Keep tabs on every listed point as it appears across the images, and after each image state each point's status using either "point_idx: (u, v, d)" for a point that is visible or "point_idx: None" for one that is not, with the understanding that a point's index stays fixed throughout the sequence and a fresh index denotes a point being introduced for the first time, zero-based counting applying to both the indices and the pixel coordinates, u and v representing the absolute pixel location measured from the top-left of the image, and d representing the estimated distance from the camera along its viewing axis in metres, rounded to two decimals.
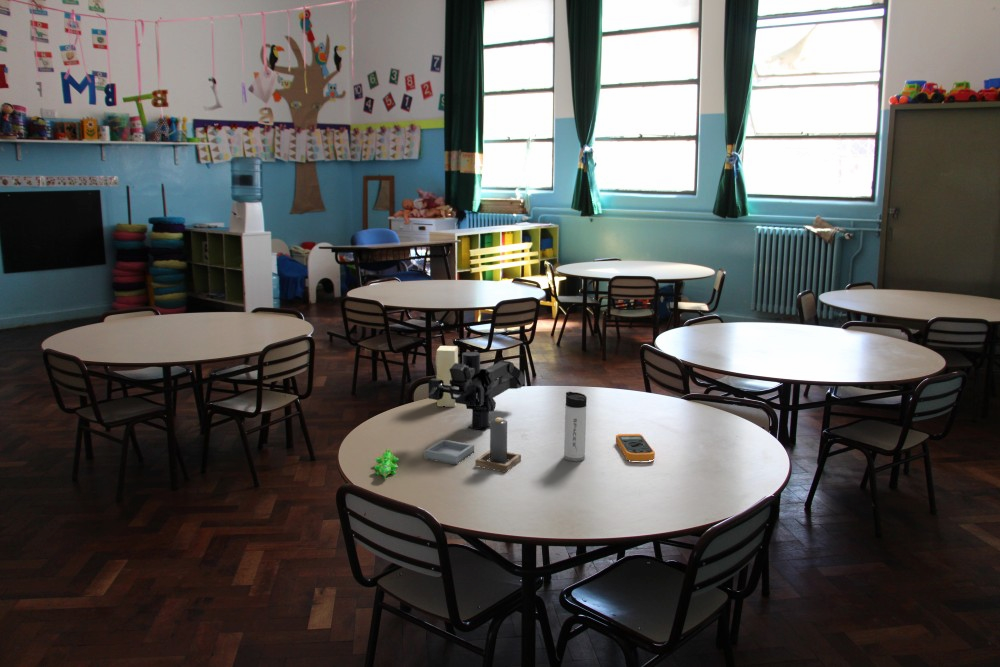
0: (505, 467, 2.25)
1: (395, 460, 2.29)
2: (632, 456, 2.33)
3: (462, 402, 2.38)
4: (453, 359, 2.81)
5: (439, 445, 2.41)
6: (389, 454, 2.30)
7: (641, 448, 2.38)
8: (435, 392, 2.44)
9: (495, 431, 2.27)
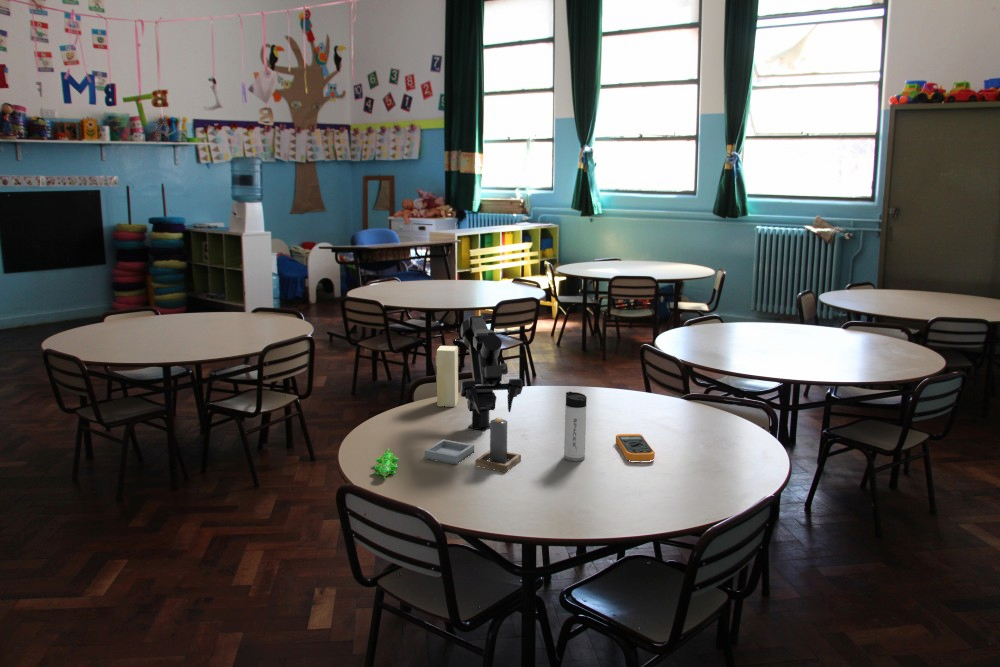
0: (505, 467, 2.25)
1: (395, 460, 2.29)
2: (632, 456, 2.33)
3: None
4: (453, 359, 2.81)
5: (439, 445, 2.41)
6: (389, 454, 2.30)
7: (641, 448, 2.38)
8: None
9: (495, 431, 2.27)
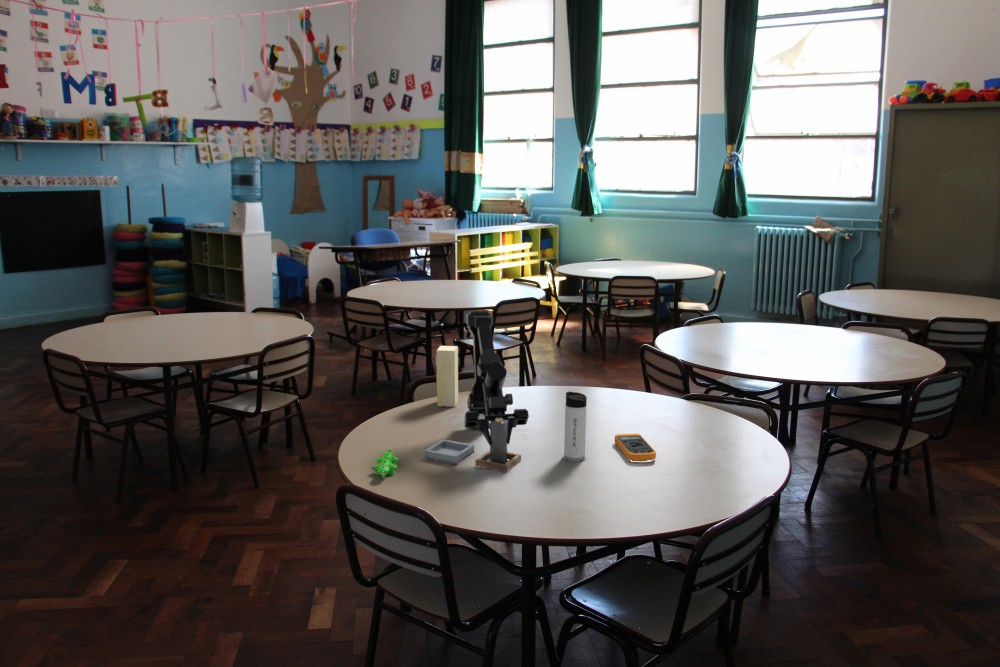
0: (505, 467, 2.25)
1: (395, 460, 2.28)
2: (634, 456, 2.33)
3: None
4: (453, 359, 2.81)
5: (439, 445, 2.41)
6: (390, 454, 2.30)
7: (642, 448, 2.38)
8: None
9: (495, 431, 2.27)
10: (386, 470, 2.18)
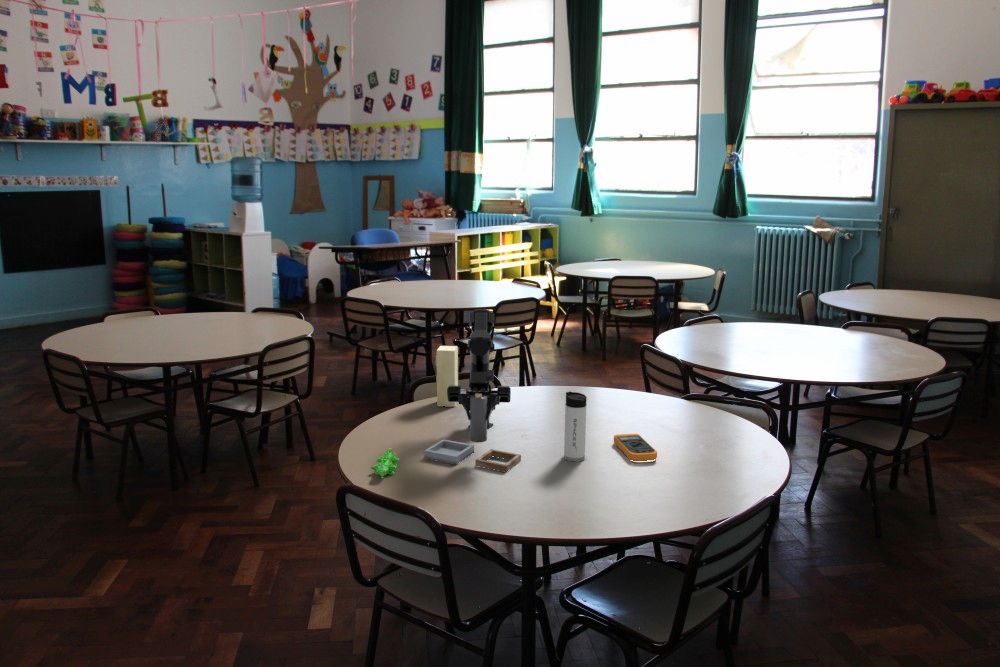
0: (505, 467, 2.25)
1: (395, 460, 2.28)
2: (636, 456, 2.33)
3: (490, 413, 2.31)
4: (453, 359, 2.81)
5: (439, 445, 2.41)
6: (390, 454, 2.30)
7: (642, 448, 2.38)
8: (469, 407, 2.31)
9: (473, 406, 2.27)
10: (385, 470, 2.18)
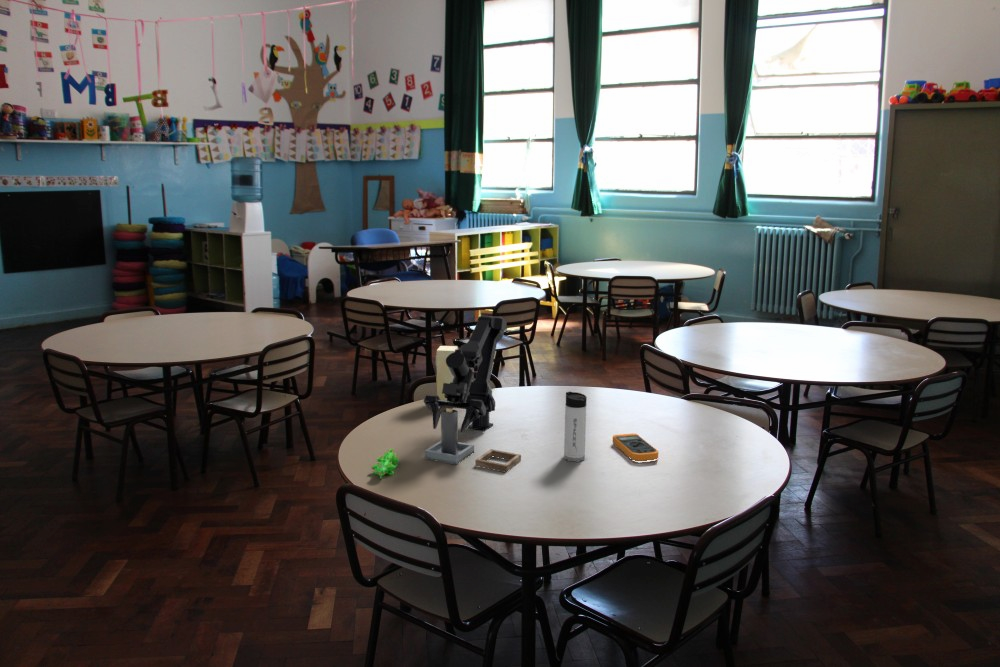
0: (505, 467, 2.25)
1: (395, 460, 2.28)
2: (638, 456, 2.33)
3: (467, 425, 2.35)
4: None
5: (439, 445, 2.41)
6: (390, 454, 2.30)
7: (643, 448, 2.38)
8: (437, 416, 2.38)
9: (442, 420, 2.34)
10: (383, 470, 2.18)
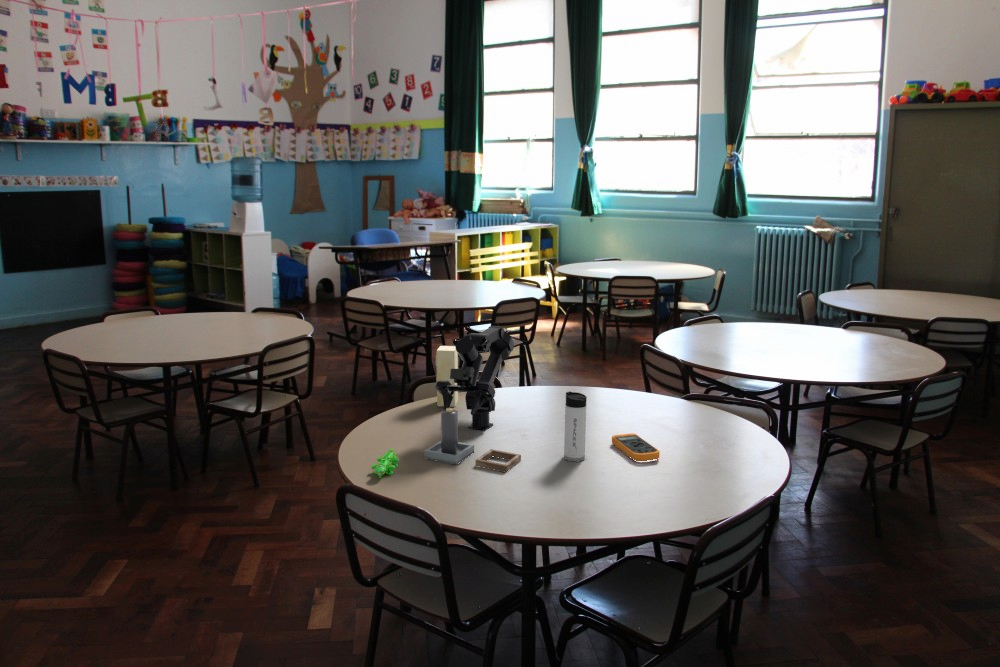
0: (505, 467, 2.25)
1: (395, 460, 2.28)
2: (640, 457, 2.33)
3: (477, 408, 2.43)
4: (453, 359, 2.81)
5: (439, 445, 2.41)
6: (390, 454, 2.30)
7: (644, 448, 2.38)
8: (447, 401, 2.47)
9: (442, 420, 2.34)
10: (382, 470, 2.18)
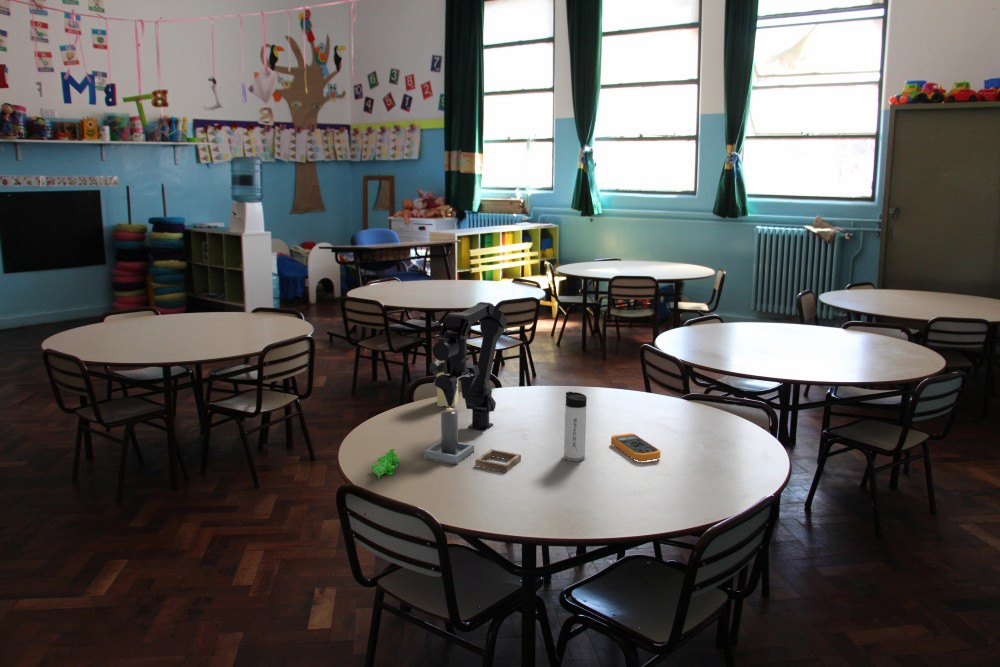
0: (505, 467, 2.25)
1: (395, 461, 2.28)
2: (642, 457, 2.33)
3: (451, 399, 2.42)
4: None
5: (439, 445, 2.41)
6: (391, 454, 2.30)
7: (645, 448, 2.38)
8: (463, 386, 2.51)
9: (442, 420, 2.34)
10: (381, 470, 2.18)
